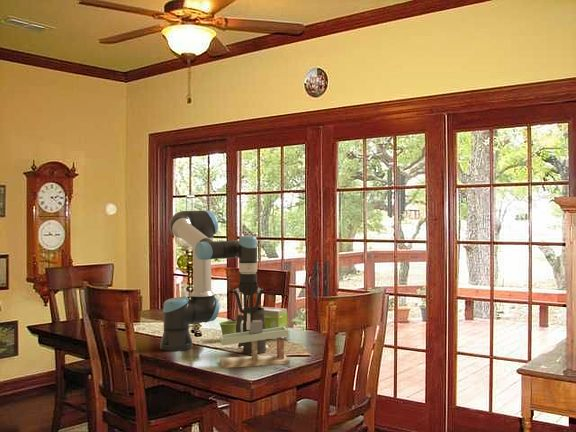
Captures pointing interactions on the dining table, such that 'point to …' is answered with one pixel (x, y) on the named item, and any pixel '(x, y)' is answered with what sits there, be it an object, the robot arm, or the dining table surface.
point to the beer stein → (248, 345)
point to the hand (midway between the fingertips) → (248, 329)
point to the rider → (256, 327)
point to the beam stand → (258, 357)
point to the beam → (253, 336)
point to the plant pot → (228, 327)
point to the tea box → (275, 318)
